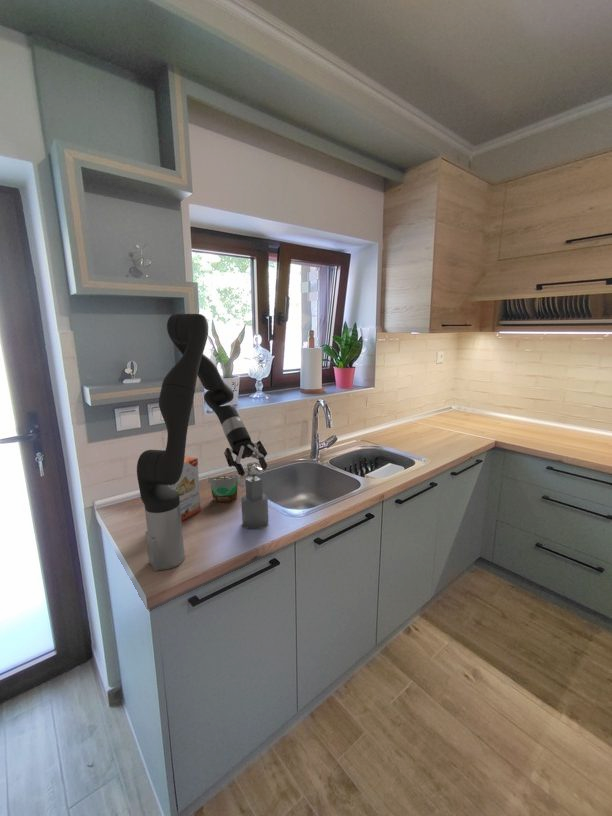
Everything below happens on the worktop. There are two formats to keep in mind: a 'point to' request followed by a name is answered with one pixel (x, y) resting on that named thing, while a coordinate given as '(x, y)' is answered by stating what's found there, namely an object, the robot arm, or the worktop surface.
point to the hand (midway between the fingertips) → (254, 471)
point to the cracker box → (188, 488)
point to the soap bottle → (254, 505)
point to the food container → (224, 488)
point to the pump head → (253, 470)
